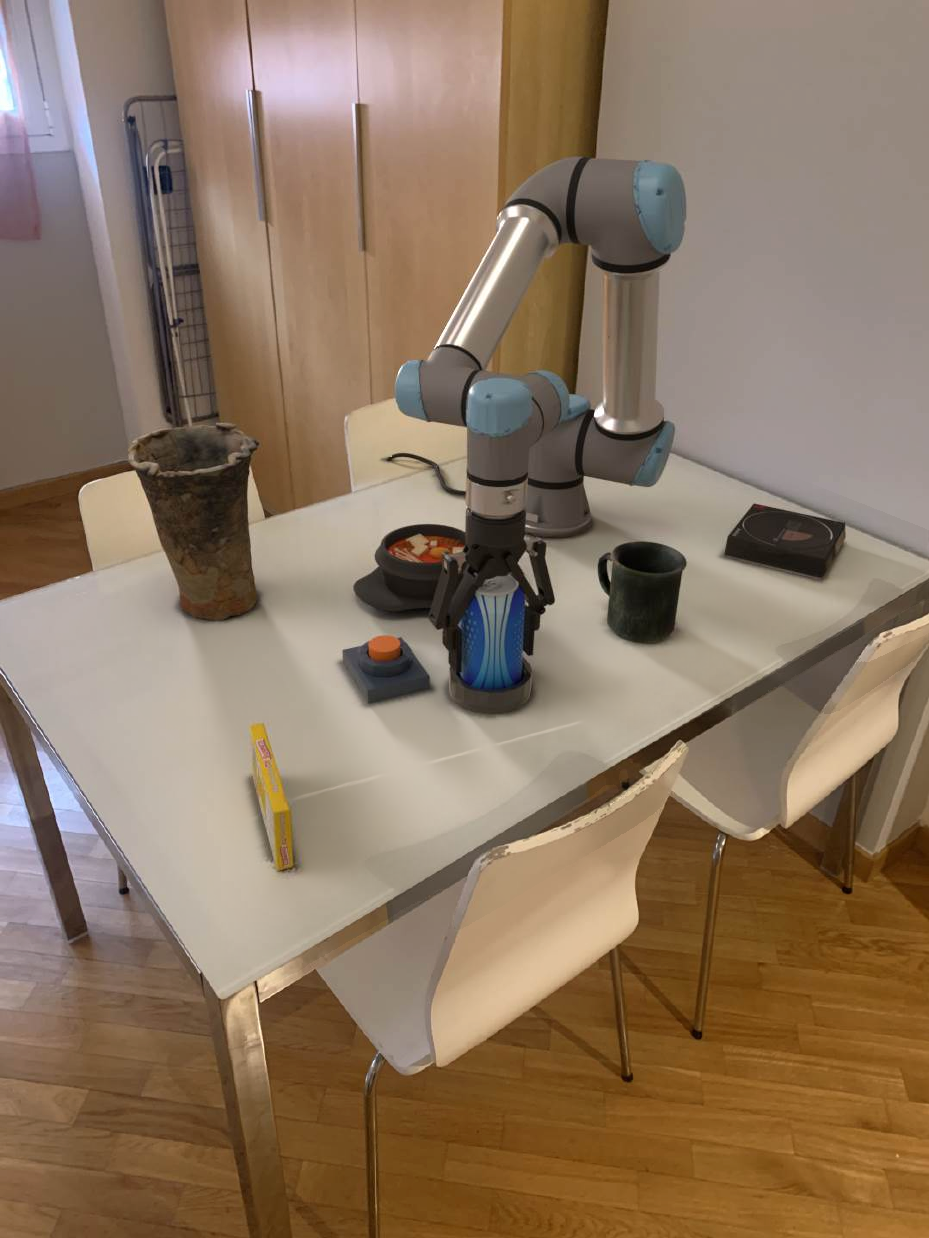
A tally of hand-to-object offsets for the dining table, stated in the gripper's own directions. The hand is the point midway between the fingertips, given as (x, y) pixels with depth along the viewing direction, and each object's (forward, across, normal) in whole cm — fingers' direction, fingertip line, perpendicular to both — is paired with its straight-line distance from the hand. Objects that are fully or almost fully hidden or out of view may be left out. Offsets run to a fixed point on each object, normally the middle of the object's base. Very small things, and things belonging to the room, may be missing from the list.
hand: (491, 658), depth 132 cm
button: (+2, -12, +9) cm, 15 cm away
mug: (+5, +28, +8) cm, 30 cm away
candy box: (+5, -34, -14) cm, 37 cm away
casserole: (+5, +3, +30) cm, 31 cm away
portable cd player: (+5, +67, +19) cm, 70 cm away
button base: (+5, -12, +9) cm, 16 cm away
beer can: (+4, 0, 0) cm, 4 cm away
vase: (+5, -30, +39) cm, 49 cm away
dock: (+5, 0, 0) cm, 5 cm away
